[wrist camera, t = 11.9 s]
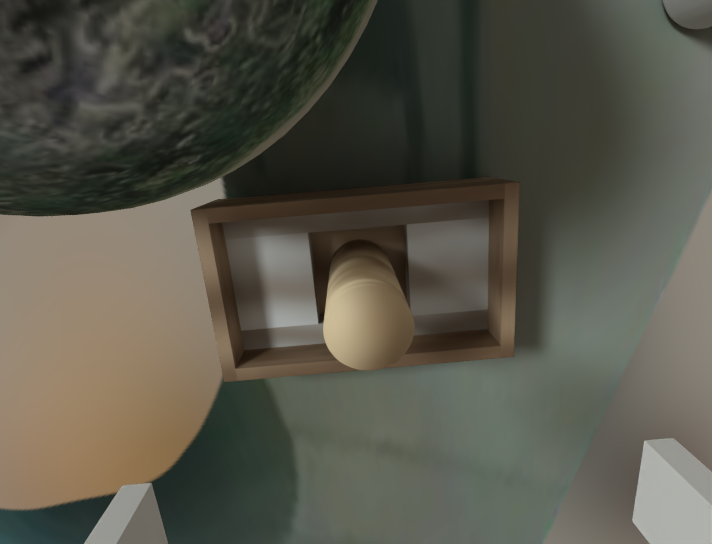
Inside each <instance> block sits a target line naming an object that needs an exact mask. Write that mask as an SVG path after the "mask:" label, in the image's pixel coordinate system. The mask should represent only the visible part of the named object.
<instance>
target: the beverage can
mask: <svg viewBox="0 0 712 544" xmlns="http://www.w3.org/2000/svg"><path fill="white" fill-rule="evenodd" d="M663 4H664V7H665V9H666V11H667V13H668V15H669V16H670V17H671V19H672V20H673V21H675V22H676V23H677V24H679V25H681V26H683V27H685V28H689V29H705V28H709V27H712V0H663Z"/></svg>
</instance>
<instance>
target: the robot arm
mask: <svg viewBox="0 0 712 544" xmlns="http://www.w3.org/2000/svg"><path fill="white" fill-rule="evenodd" d="M632 521H633V523H634V524H635V525H636V526H637V528H638V529H639V530H640V531H641V533H642V534H643V535H644V537H645V538H646V539H647V541H648V542H649V543H650V544H712V472H711V471H710V470H709V469H708V468H707V467H706V466H704V465H703V464H702V463H701V462H700V461H699V460H698V459H696V458H695V457H694V456H693V455H692V454H691V453H690V452H689V451H687V450H686V449H685V448H684V447H683V446H682V445H680V444H679V443H678V442H677V441H676V440H674V438H667V439H656V440H645V441H644V448H643V454H642V460H641V468H640V474H639V480H638V487H637V493H636V500H635V506H634V513H633V520H632ZM84 544H168V542H167V538H166V534H165V531H164V527H163V524H162V520H161V516H160V513H159V509H158V506H157V502H156V498H155V495H154V491H153V488H152V484H151V483H146V484H134V485H124V486H122V487H121V488H120V490H119V491H118V493H117V494H116V496H115V497H114V499H113V500H112V502H111V503H110V505H109V506H108V508H107V510H106V511H105V513H104V514H103V516H102V517H101V519H100V520H99V522H98V523H97V525H96V526H95V528H94V529H93V531H92V532H91V534H90V535H89V537H88V538H87V540H86V541H85V543H84Z"/></svg>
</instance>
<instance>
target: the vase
mask: <svg viewBox="0 0 712 544" xmlns="http://www.w3.org/2000/svg"><path fill="white" fill-rule="evenodd" d="M377 1H378V0H0V214H3V215H24V216H58V215H78V214H89V213H100V212H106V211H114V210H121V209H127V208H134V207H137V206H142V205H146V204H150V203H154V202H158V201H162V200H165V199H168V198H171V197H173V196H176V195H179V194H181V193H184V192H187V191H190V190H192V189H195V188H198V187H201V186H203V185H206V184H208V183H210V182H212V181H214V180H216V179H218V178H220V177H222V176H224V175H226V174H228V173H230V172H233V171H234V170H236V169H237V168H239V167H241V166H242V165H244V164H245V163H247V162H249V161H250V160H252V159H253V158H255V157H256V156H258V155H260V154H261V153H262V152H263V151H265V150H266V149H267V148H269V147H270V146H271V145H272V144H274V143H275V142H276V141H277V140H279V139H280V138H281V137H282V136H284V135H285V134H286V133H287V132H288V131H289V130H290V129H291V128H292V127H293V126H294V125H295V124H296V123H297V122H298V121H299V120H300V119H301V118H302V117H303V116H304V115H305V114H306V113H307V112H308V111H309V110H310V109H311V108H312V106H313V105H314V104H315V103H316V102H317V101H318V99H319V98H320V97H321V96H322V95H323V93H324V92H325V91H326V90H327V89H328V87H329V86H330V85H331V83H332V82H333V80H334V79H335V77H336V76H337V74H338V73H339V71H340V70H341V69H342V67H343V66H344V64H345V63H346V61H347V60H348V58H349V57H350V55H351V53H352V51H353V49H354V48H355V46H356V44H357V42H358V40H359V39H360V37H361V35H362V33H363V31H364V29H365V28H366V26H367V24H368V21H369V19H370V17H371V15H372V12H373V10H374V8H375V5H376V3H377Z"/></svg>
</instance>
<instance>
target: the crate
mask: <svg viewBox="0 0 712 544" xmlns="http://www.w3.org/2000/svg"><path fill="white" fill-rule="evenodd" d="M519 193H520V182H515V181H509V180H504V179H498V178H493V177H481V178H469V179H457V180H445V181H433V182H421V183H409V184H397V185H385V186H373V187H361V188H349V189H337V190H325V191H313V192H302V193H290V194H278V195H266V196H254V197H242V198H230V199H218V200H215V201H212V202H210V203H207V204H205V205H202V206H200V207H197V208H194V209H192V210H191V215H192V220H193V225H194V230H195V235H196V240H197V245H198V251H199V255H200V261H201V266H202V271H203V276H204V281H205V286H206V291H207V296H208V301H209V307H210V312H211V316H212V322H213V327H214V332H215V337H216V342H217V348H218V353H219V358H220V362H221V368H222V373H223V378H224V382H228V381H239V380H251V379H262V378H274V377H285V376H297V375H309V374H320V373H332V372H343V371H355V370H358V369H354V368H351V367H349V366H347V365H344V364H343V363H341V362H340V361H339V360H337V359H336V358H335V357H334V356H333V355H332V353H331V352H330V351H329V349H328V347H327V345H326V343H325V340H324V335H323V325H324V316H325V307H326V298H327V290H328V281H329V272H330V264H331V260H332V257H333V255H334V253H335V252H336V251H337V249H338V248H339V247H341V246H342V245H343V244H345V243H347V242H349V241H352V240H357V239H365V240H369V241H372V242H374V243H376V244H378V245H379V246H380V247H382V248H383V250H384V251H385V252H386V254H387V256H388V258H389V260H390V263H391V265H392V268H393V270H394V272H395V275H396V277H397V280H398V282H399V284H400V287H401V289H402V291H403V294H404V296H405V299H406V301H407V303H408V306H409V308H410V311H411V313H412V316H413V319H414V336H413V339H412V342H411V344H410V347H409V348H408V350H407V351H406V353H405V354H404V355H403V356H402V357H401V358H400V359H399V360H397V361H396V362H395V363H393V364H391V365H389V366H387V367H385V368H389V367H401V366H412V365H424V364H436V363H447V362H459V361H470V360H482V359H493V358H505V357H514V334H515V306H516V278H517V249H518V221H519Z"/></svg>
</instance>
